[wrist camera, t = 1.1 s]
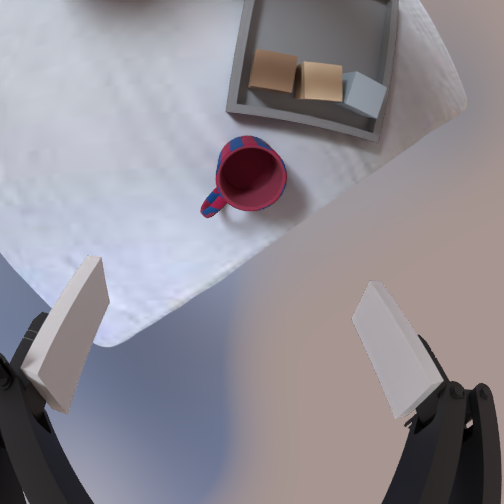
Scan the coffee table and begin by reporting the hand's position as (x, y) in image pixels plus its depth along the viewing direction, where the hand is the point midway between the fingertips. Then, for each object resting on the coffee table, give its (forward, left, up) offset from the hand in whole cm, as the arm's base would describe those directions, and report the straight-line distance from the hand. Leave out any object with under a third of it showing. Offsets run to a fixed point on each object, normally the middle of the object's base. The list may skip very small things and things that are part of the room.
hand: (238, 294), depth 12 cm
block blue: (-12, +12, -21) cm, 27 cm away
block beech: (-12, +7, -21) cm, 26 cm away
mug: (0, 0, -22) cm, 22 cm away
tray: (-18, +7, -22) cm, 29 cm away
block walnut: (-12, +2, -21) cm, 25 cm away
